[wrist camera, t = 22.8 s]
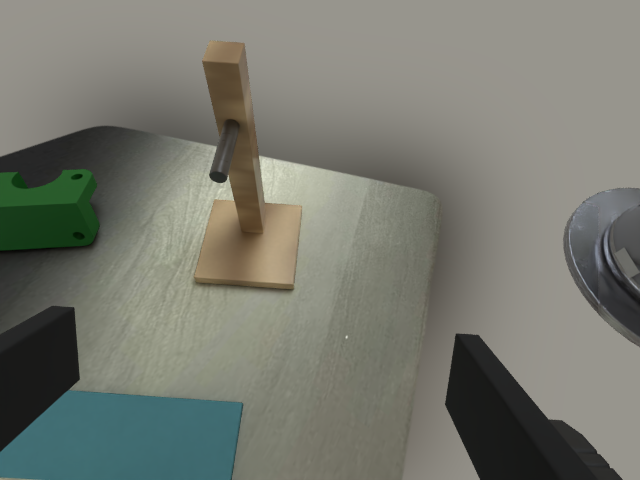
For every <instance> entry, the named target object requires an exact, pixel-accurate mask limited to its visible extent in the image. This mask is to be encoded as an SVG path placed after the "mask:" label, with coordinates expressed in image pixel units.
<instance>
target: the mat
mask: <svg viewBox="0 0 640 480" xmlns="http://www.w3.org/2000/svg"><path fill="white" fill-rule="evenodd" d="M242 409H243V403H239V402H225V401H211V400H197V399H183V398H169V397H155V396H141V395H127V394H112V393H98V392H84V391H70V390H68V391H66V392H65V393H64V394H63V395H62V396H61V397H60V398H59V399H58V400H57V401H56V402H54V403H53V404H52V405H51V406H50V407H49V408H48V409H47V410H46V411H45V412H43V413H42V414H41V415H40V416H39V417H38V418H37V419H36V420H35V421H34V422H33V423H31V424H30V425H29V426H28V427H27V428H26V429H25V430H24V431H23V432H22V433H21V434H19V435H18V436H17V437H16V438H15V439H14V440H13V441H12V442H11V443H10V444H8V445H7V446H6V447H5V448H4V449H3V450H2V451H1V452H0V478H17V479H33V480H231V479H232V473H233V467H234V460H235V454H236V447H237V441H238V434H239V428H240V421H241V415H242Z"/></svg>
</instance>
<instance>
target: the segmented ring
mask: <svg viewBox="0 0 640 480" xmlns="http://www.w3.org/2000/svg"><path fill="white" fill-rule="evenodd" d="M0 480H33V479H17V478H0Z"/></svg>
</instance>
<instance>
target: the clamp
mask: <svg viewBox="0 0 640 480" xmlns="http://www.w3.org/2000/svg"><path fill="white" fill-rule="evenodd" d="M96 187H97V183H96V181H95V179H94V177H93V174H92V172H91V171H89V170H85V169H80V170H63V172H62V174H61V176H60V177H59V178H57V179H56V180H55V181H53V182H51V183H49V184H47V185H44V186H41V187H37V188H31V189H28V187H27V185H26V184H25V182H24V180H23V179H22V177H21V176H20V174H19V172H9V173H0V251H1V250H18V249H35V248H52V247H69V246H86V245H89V244H91V243H92V242H93V240H94V238H95V236H96V234H97V232H98V229H99V227H100V224H99V221H98V219H97V217H96V215H95V213H94V211H93V209H92V207H91V205H90V203H89V200H90V198H91V196H92V194H93V193H94V191H95V189H96Z"/></svg>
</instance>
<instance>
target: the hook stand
mask: <svg viewBox="0 0 640 480" xmlns="http://www.w3.org/2000/svg"><path fill="white" fill-rule="evenodd" d="M202 62H203V67H204V71H205V75H206V80H207V84H208V88H209V93H210V97H211V101H212V106H213V110H214V114H215V119H216V123H217V127H218V132H219V136H220V139H219V142H218V146H217V150H216V153H215V157H214V160H213V164H212V167H211V171H210V174H209V176H210V178H211V179H212V180H213V181H215V182H217V183H223V182H225V181H226V180H227V177H228V175H229V179H230V184H231V188H232V192H233V197H234V201H230V200H217V199H215V200H214V203H213V206H212V210H211V214H210V218H209V222H208V226H207V229H206V233H205V237H204V241H203V245H202V249H201V252H200V256H199V260H198V264H197V268H196V271H195V275H194V278H195V280H196V282H198V283H212V284H226V285H240V286H254V287H268V288H282V289H294V282H295V272H296V263H297V253H298V244H299V234H300V225H301V215H302V206H300V205H286V204H272V203H265V201H264V193H263V186H262V178H261V170H260V162H259V154H258V146H257V139H256V131H255V123H254V115H253V108H252V99H251V92H250V83H249V76H248V68H247V61H246V52H245V44H244V43H237V42H223V41H209V44H208V47H207V50H206V52H205V55H204V58H203V60H202Z"/></svg>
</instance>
